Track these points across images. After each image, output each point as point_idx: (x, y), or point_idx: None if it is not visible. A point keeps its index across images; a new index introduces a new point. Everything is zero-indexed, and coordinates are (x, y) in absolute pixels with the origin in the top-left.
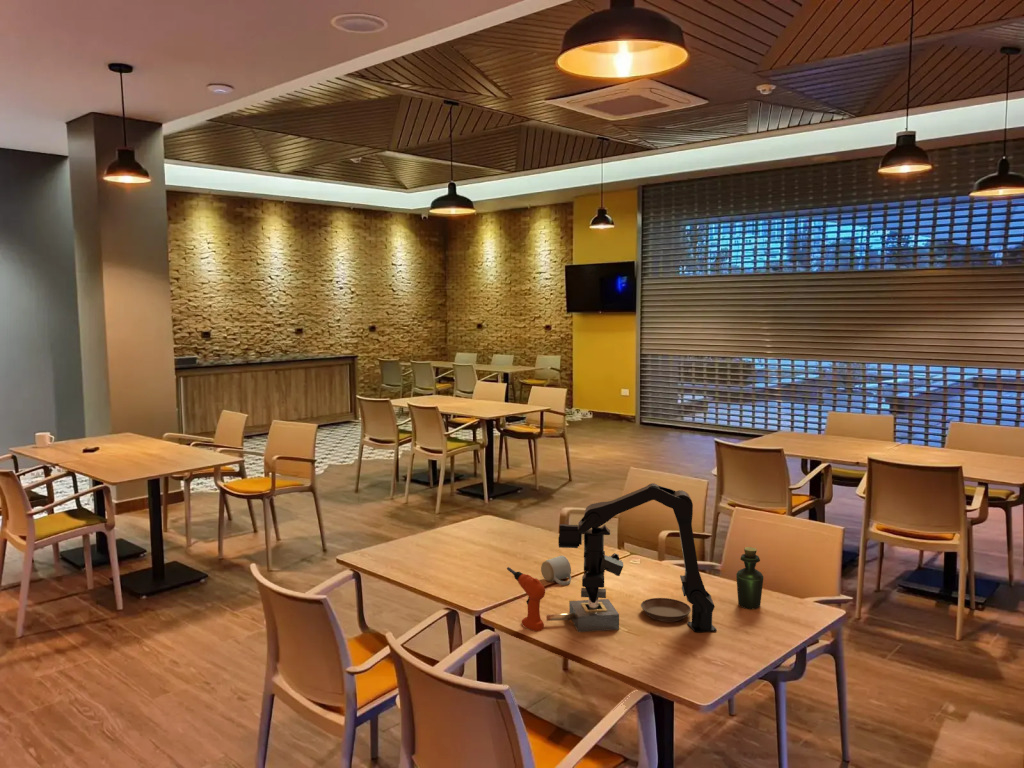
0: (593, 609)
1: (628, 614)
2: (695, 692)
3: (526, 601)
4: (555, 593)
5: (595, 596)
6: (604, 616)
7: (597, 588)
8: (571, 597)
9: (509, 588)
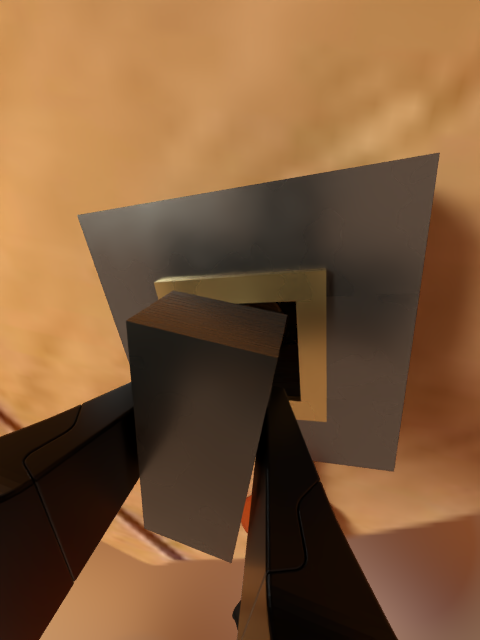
0: (277, 359)
1: (137, 62)
2: None
3: (234, 613)
4: (12, 383)
5: (300, 445)
6: (412, 304)
7: (368, 608)
8: (23, 342)
9: None
